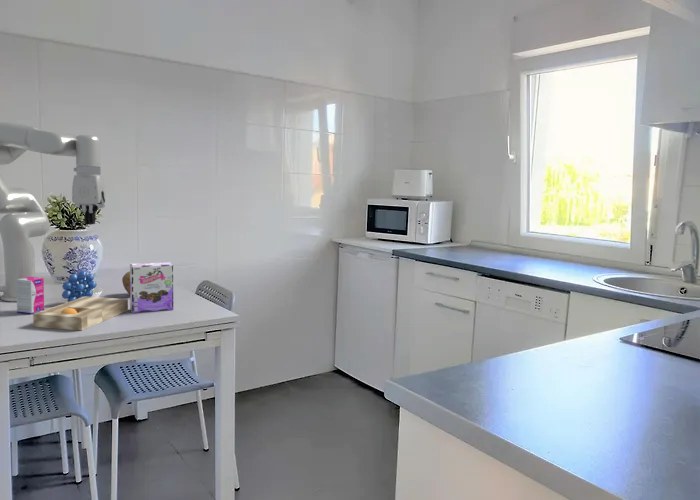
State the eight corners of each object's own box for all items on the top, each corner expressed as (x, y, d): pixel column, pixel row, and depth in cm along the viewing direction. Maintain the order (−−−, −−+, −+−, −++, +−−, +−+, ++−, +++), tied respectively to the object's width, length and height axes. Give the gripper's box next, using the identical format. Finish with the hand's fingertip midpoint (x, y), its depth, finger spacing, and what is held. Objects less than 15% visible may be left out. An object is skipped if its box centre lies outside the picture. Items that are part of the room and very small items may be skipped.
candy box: (131, 313, 180) (130, 265, 178) (130, 309, 185) (129, 263, 183) (173, 310, 186) (173, 264, 184) (171, 306, 191) (170, 261, 189)
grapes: (92, 299, 198) (91, 267, 196) (99, 302, 193) (98, 270, 191) (58, 303, 190) (57, 270, 188) (64, 307, 185) (63, 273, 183)
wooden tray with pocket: (33, 326, 161) (33, 313, 160) (85, 307, 185) (85, 296, 185) (81, 330, 159) (81, 317, 158) (128, 310, 183) (127, 299, 183)
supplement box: (32, 314, 174) (30, 280, 172) (16, 313, 175) (14, 279, 174) (45, 310, 180) (44, 277, 178) (30, 309, 181) (28, 276, 179)
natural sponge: (143, 291, 212) (142, 267, 211) (151, 296, 206) (150, 270, 204) (119, 294, 207) (119, 269, 205) (127, 298, 200) (126, 273, 199)
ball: (63, 328, 162) (57, 321, 166) (80, 324, 166) (74, 318, 169) (62, 313, 161) (57, 307, 164) (80, 310, 164) (74, 304, 168)
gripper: (61, 170, 180) (63, 224, 183) (101, 172, 178) (103, 226, 181) (75, 171, 188) (77, 222, 190) (114, 172, 186) (116, 224, 188)
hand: (90, 224), depth 185 cm, fingers closed
